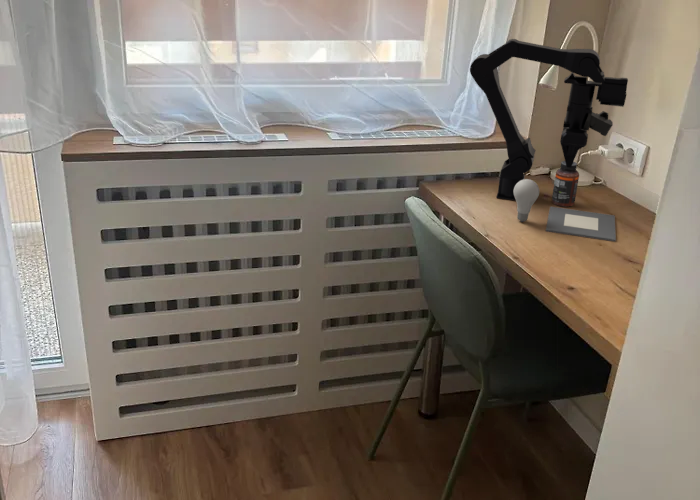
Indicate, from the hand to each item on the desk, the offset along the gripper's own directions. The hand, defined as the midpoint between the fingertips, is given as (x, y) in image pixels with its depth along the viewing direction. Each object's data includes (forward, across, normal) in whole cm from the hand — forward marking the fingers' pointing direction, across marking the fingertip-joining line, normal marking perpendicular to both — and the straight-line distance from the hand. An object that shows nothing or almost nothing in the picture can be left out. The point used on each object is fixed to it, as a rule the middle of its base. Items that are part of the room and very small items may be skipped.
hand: (569, 162), depth 179 cm
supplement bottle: (+12, 0, 0) cm, 12 cm away
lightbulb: (+12, -17, +9) cm, 22 cm away
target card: (+12, -13, -5) cm, 18 cm away
